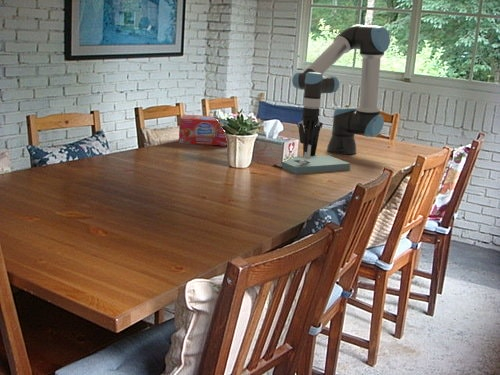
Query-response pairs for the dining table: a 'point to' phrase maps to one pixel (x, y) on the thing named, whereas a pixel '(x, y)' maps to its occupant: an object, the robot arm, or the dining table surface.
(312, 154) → the cup
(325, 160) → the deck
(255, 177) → the dining table surface
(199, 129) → the box
